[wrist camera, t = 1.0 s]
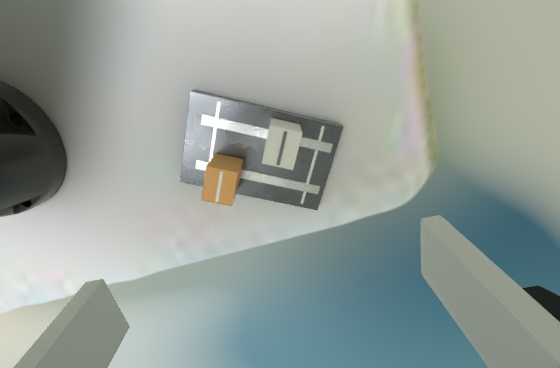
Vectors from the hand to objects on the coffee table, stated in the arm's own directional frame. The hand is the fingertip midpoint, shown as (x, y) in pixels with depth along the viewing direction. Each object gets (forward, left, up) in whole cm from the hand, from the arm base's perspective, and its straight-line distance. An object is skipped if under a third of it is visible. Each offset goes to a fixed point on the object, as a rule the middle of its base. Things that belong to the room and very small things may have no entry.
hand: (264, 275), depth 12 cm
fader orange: (-5, -4, -20) cm, 21 cm away
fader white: (0, +1, -20) cm, 20 cm away
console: (-2, -1, -22) cm, 22 cm away
